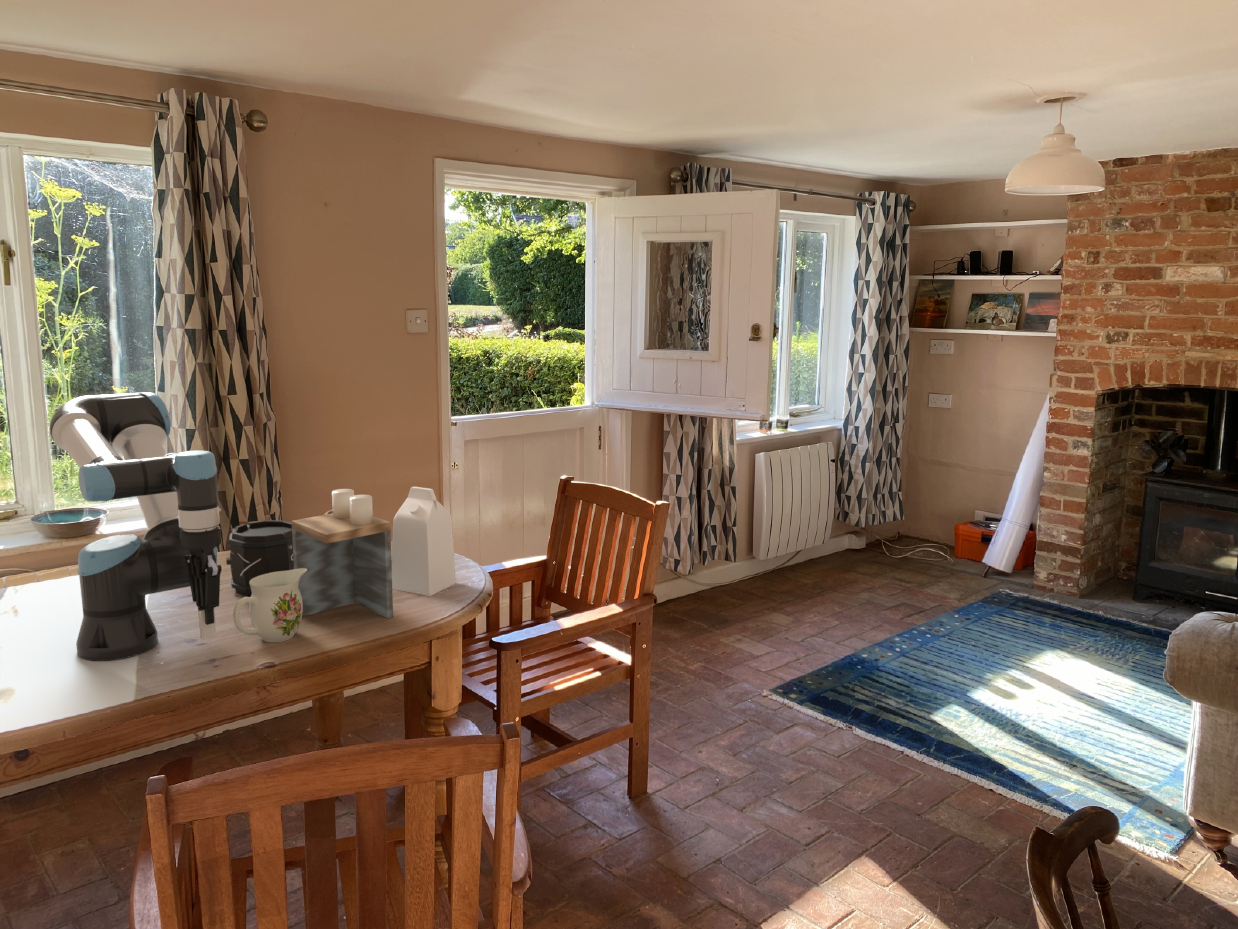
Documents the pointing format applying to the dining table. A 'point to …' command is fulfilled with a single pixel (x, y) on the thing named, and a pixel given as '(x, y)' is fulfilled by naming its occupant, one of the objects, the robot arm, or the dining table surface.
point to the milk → (422, 545)
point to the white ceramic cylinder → (341, 503)
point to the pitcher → (273, 605)
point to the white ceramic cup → (361, 510)
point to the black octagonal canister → (259, 551)
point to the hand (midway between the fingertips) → (208, 637)
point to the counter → (343, 564)
